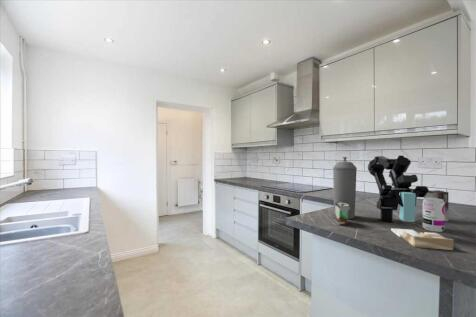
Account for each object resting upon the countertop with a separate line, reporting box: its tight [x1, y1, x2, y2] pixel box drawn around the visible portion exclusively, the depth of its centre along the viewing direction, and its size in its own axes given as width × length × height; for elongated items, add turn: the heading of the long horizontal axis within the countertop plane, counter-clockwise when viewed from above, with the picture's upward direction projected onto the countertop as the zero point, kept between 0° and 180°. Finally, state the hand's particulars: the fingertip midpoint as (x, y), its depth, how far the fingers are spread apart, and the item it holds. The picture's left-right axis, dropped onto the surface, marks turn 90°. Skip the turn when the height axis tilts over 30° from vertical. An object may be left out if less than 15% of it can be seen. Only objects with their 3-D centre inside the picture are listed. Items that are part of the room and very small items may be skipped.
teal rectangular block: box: [398, 192, 417, 223], centre depth 105 cm, size 4×4×12 cm
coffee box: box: [423, 189, 449, 222], centre depth 128 cm, size 9×6×16 cm
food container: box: [334, 202, 350, 226], centre depth 123 cm, size 12×6×10 cm, turn 168°
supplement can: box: [421, 197, 446, 233], centre depth 112 cm, size 8×8×15 cm
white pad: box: [390, 228, 420, 238], centre depth 105 cm, size 9×9×1 cm
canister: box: [332, 156, 358, 220], centre depth 134 cm, size 13×13×35 cm
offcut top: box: [423, 231, 445, 238], centre depth 94 cm, size 7×4×2 cm, turn 169°
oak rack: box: [402, 231, 454, 251], centre depth 94 cm, size 10×13×4 cm
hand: (408, 206), depth 103 cm, fingers closed on teal rectangular block, 4 cm apart
